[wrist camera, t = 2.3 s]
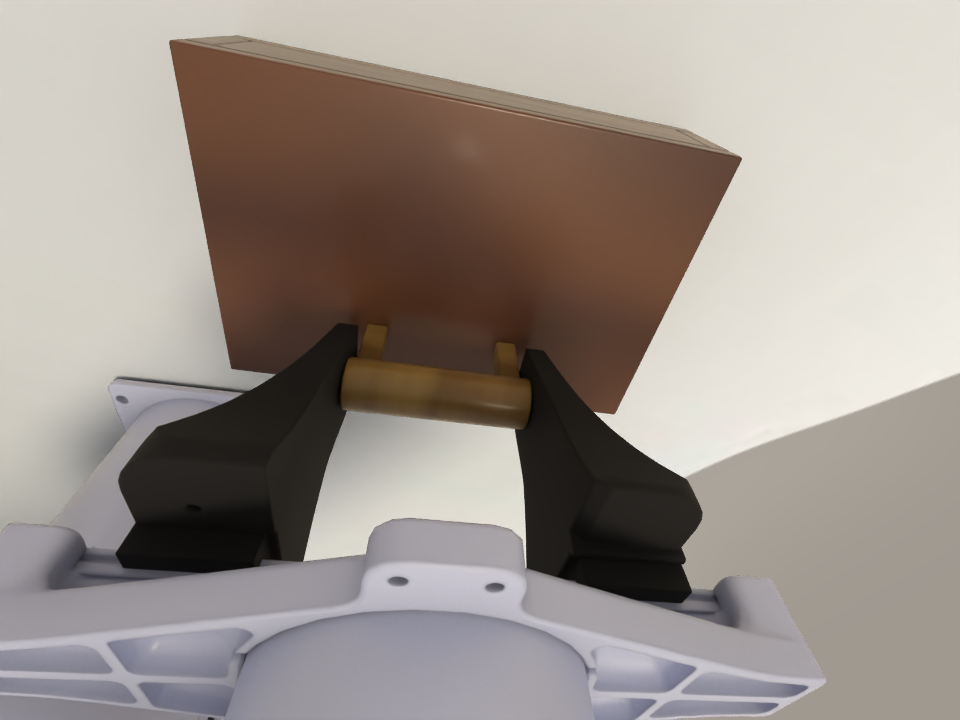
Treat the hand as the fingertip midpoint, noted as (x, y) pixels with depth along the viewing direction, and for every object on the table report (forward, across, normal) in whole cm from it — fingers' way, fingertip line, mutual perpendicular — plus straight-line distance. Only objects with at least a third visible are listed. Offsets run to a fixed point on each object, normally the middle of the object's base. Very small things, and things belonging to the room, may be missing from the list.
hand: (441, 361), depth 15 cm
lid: (+2, 0, -2) cm, 3 cm away
